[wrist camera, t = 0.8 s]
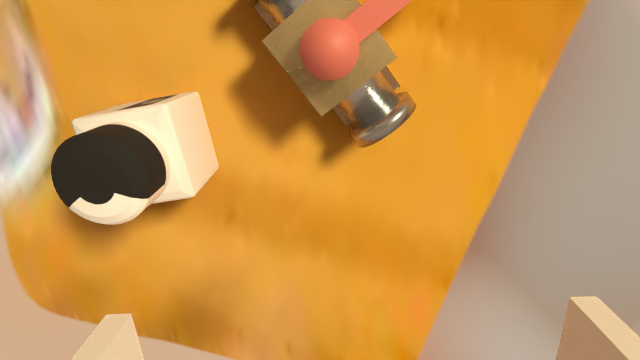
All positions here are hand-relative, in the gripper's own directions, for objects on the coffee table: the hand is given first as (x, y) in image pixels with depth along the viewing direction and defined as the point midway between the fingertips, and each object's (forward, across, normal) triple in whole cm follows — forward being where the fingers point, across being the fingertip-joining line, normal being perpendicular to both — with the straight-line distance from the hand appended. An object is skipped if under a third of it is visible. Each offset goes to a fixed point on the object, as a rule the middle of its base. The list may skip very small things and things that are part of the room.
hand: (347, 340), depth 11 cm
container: (+26, -16, +1) cm, 31 cm away
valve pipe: (+26, 0, +8) cm, 27 cm away
